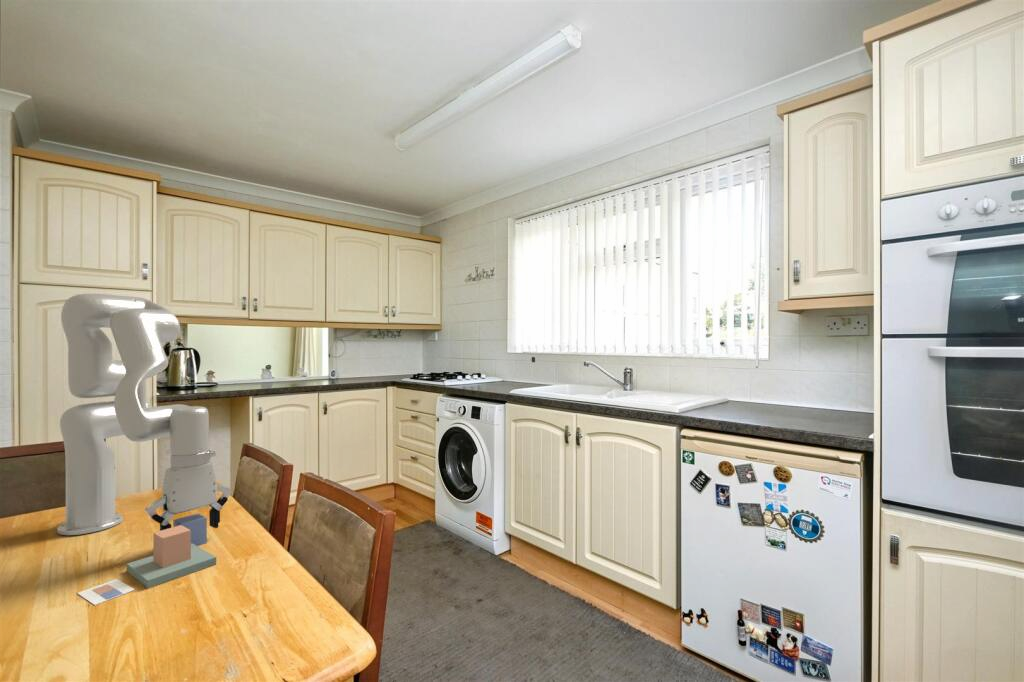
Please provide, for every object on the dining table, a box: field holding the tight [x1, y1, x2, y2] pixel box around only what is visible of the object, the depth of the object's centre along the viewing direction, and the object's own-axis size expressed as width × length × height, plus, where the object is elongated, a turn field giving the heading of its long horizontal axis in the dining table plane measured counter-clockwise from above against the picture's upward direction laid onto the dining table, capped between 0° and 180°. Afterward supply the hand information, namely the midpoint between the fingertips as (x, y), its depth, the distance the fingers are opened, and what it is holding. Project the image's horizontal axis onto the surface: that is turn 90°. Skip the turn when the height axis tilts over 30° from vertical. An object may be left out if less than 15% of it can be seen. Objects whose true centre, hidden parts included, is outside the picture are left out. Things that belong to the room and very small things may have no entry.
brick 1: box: [152, 525, 191, 568], centre depth 99 cm, size 5×5×6 cm
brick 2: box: [172, 513, 208, 547], centre depth 110 cm, size 5×5×6 cm
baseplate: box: [126, 543, 217, 589], centre depth 99 cm, size 12×12×2 cm
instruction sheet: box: [77, 578, 135, 606], centre depth 89 cm, size 8×6×1 cm
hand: (191, 533), depth 110 cm, fingers open, 9 cm apart
